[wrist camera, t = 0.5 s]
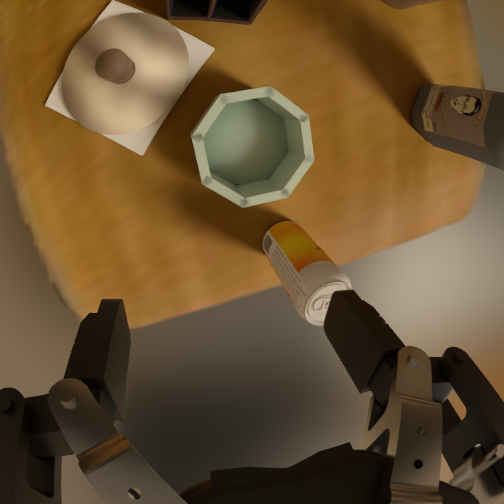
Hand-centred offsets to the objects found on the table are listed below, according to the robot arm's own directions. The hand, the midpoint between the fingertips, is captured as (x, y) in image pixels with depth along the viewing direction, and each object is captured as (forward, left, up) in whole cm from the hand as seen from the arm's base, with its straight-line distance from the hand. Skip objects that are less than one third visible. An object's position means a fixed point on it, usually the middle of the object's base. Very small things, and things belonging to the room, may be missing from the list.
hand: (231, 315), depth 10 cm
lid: (-6, -14, -25) cm, 30 cm away
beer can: (+2, +15, -26) cm, 30 cm away
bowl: (-6, +3, -26) cm, 27 cm away
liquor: (-29, +24, -26) cm, 46 cm away
